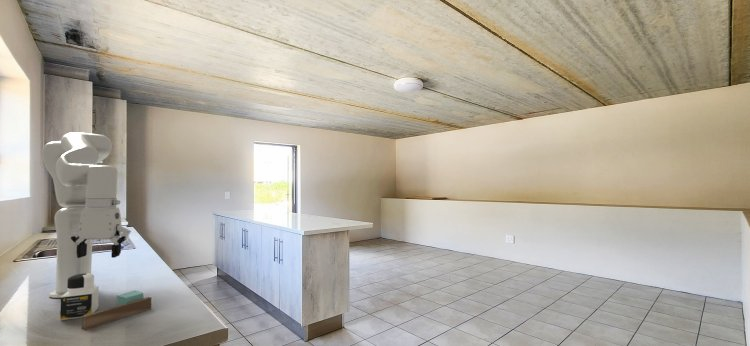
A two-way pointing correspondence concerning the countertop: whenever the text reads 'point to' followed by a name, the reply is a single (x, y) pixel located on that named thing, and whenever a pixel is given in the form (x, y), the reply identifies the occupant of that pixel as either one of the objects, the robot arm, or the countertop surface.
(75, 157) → the robot arm
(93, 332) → the countertop surface
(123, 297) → the teal block
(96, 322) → the walnut fence
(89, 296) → the medicine bottle
